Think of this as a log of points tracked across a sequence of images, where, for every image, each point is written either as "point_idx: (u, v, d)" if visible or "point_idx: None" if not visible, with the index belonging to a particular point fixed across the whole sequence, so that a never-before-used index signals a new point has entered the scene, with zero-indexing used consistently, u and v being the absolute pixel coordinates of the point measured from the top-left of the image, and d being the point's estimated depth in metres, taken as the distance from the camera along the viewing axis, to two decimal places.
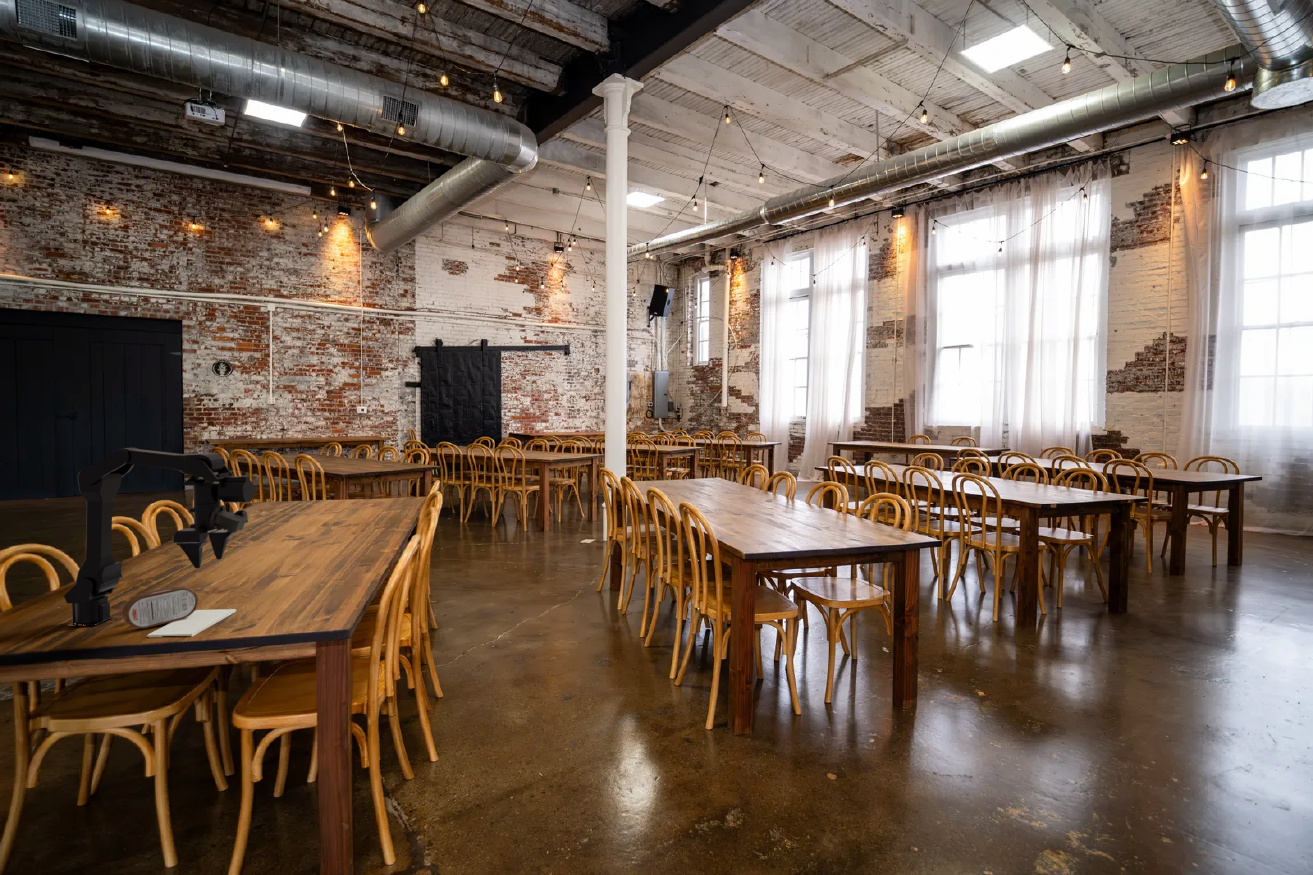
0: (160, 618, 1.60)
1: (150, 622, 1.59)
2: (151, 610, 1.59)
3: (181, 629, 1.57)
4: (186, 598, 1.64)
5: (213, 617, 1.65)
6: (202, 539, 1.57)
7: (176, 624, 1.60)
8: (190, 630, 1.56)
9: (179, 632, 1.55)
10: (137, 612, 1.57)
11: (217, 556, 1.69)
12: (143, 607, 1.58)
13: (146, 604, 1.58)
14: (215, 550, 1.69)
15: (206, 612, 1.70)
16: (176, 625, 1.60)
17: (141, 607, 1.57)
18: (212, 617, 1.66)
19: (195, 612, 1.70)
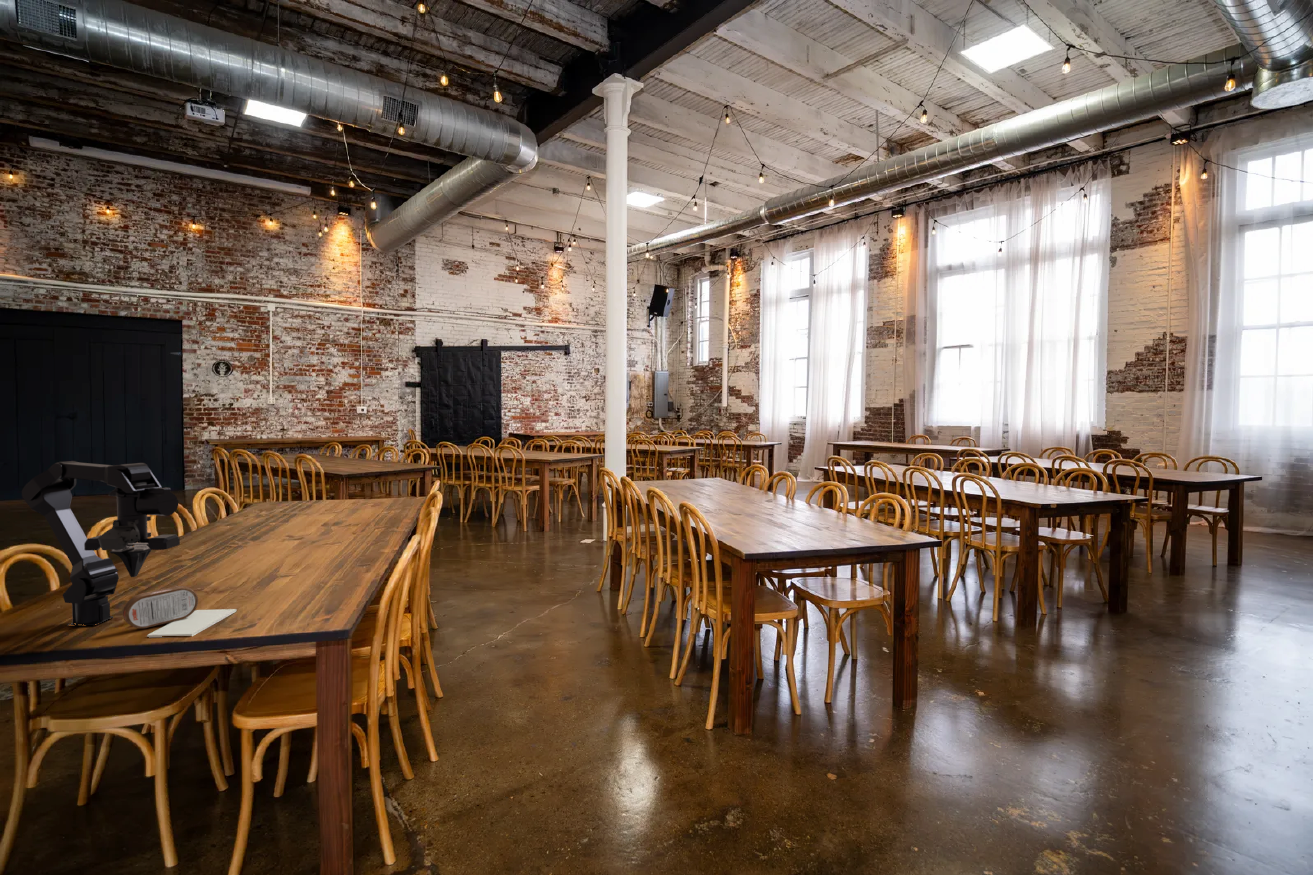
0: (160, 618, 1.60)
1: (150, 622, 1.59)
2: (151, 610, 1.59)
3: (181, 629, 1.57)
4: (186, 598, 1.64)
5: (213, 617, 1.65)
6: (90, 548, 1.56)
7: (176, 624, 1.60)
8: (190, 630, 1.56)
9: (179, 632, 1.55)
10: (137, 612, 1.57)
11: None
12: (143, 607, 1.58)
13: (146, 604, 1.58)
14: None
15: (206, 612, 1.70)
16: (176, 625, 1.60)
17: (141, 607, 1.57)
18: (212, 617, 1.66)
19: (195, 612, 1.70)
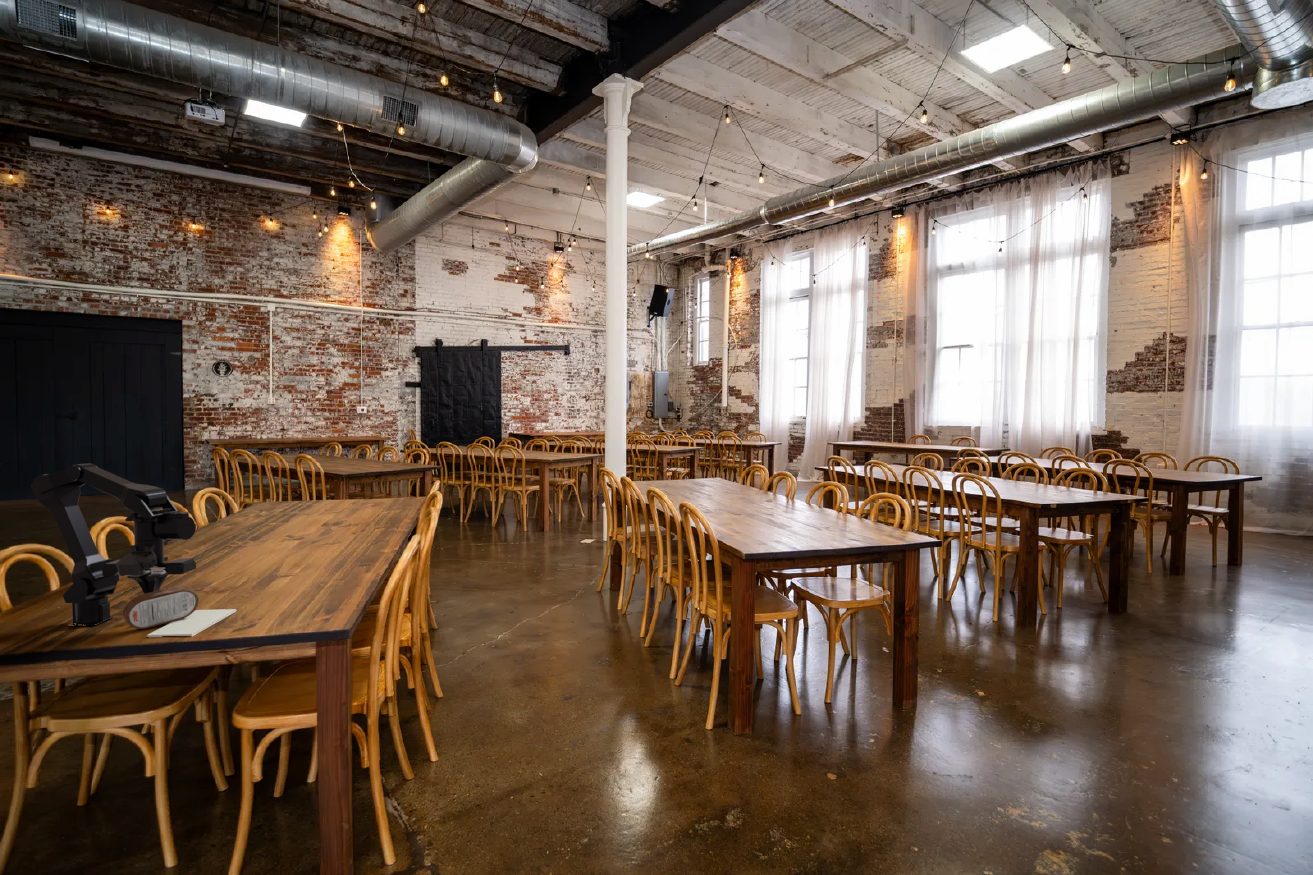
0: (160, 619, 1.60)
1: (150, 622, 1.59)
2: (151, 611, 1.58)
3: (181, 629, 1.57)
4: (187, 599, 1.64)
5: (213, 617, 1.65)
6: (107, 574, 1.57)
7: (176, 624, 1.60)
8: (190, 630, 1.56)
9: (179, 632, 1.55)
10: (137, 614, 1.56)
11: None
12: (144, 609, 1.57)
13: (147, 606, 1.57)
14: None
15: (206, 612, 1.70)
16: (176, 625, 1.60)
17: (142, 609, 1.56)
18: (212, 617, 1.66)
19: (195, 612, 1.70)
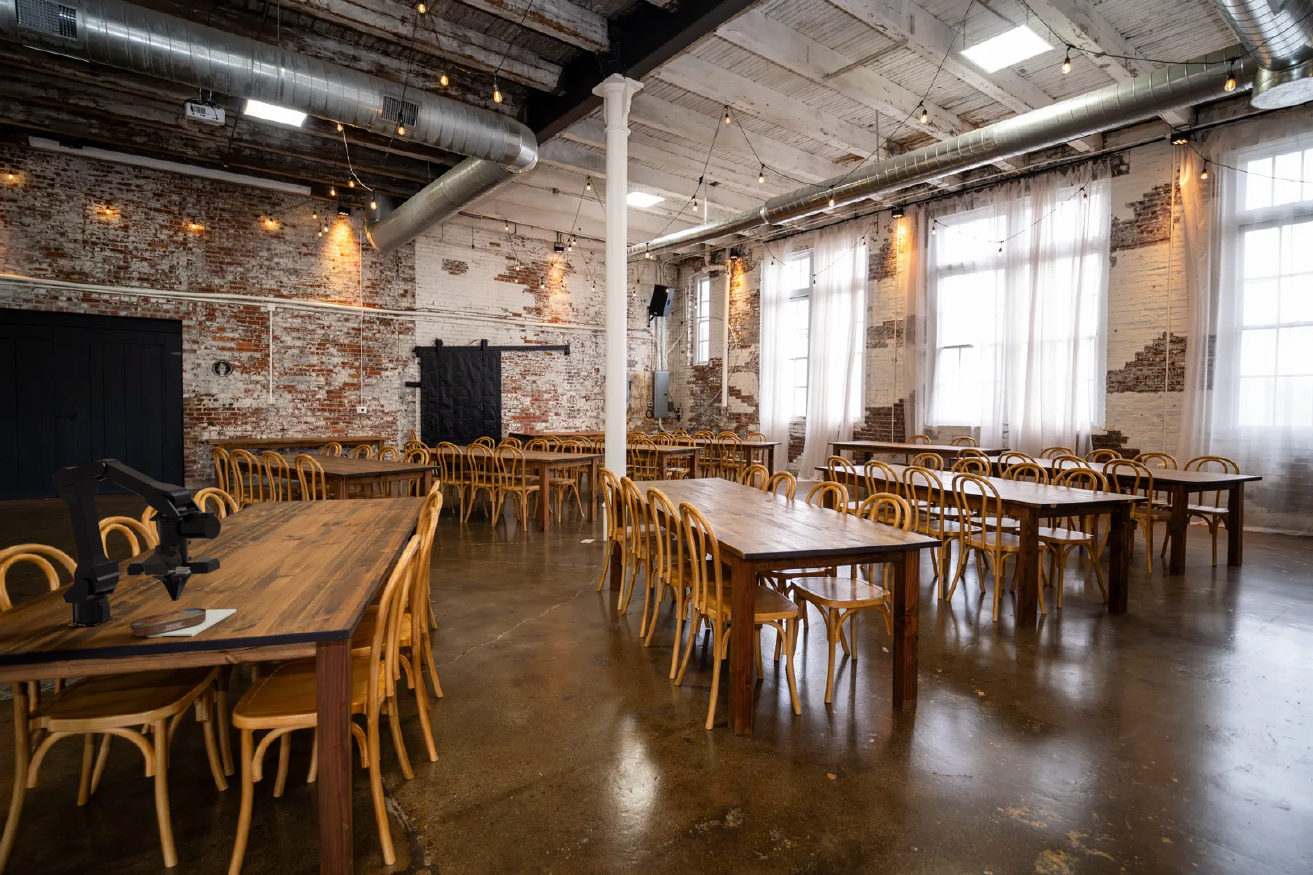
0: None
1: None
2: None
3: (181, 629, 1.57)
4: None
5: (213, 617, 1.65)
6: (132, 573, 1.57)
7: None
8: (190, 630, 1.56)
9: (179, 632, 1.55)
10: None
11: None
12: None
13: None
14: None
15: (206, 612, 1.70)
16: None
17: None
18: (212, 617, 1.66)
19: None
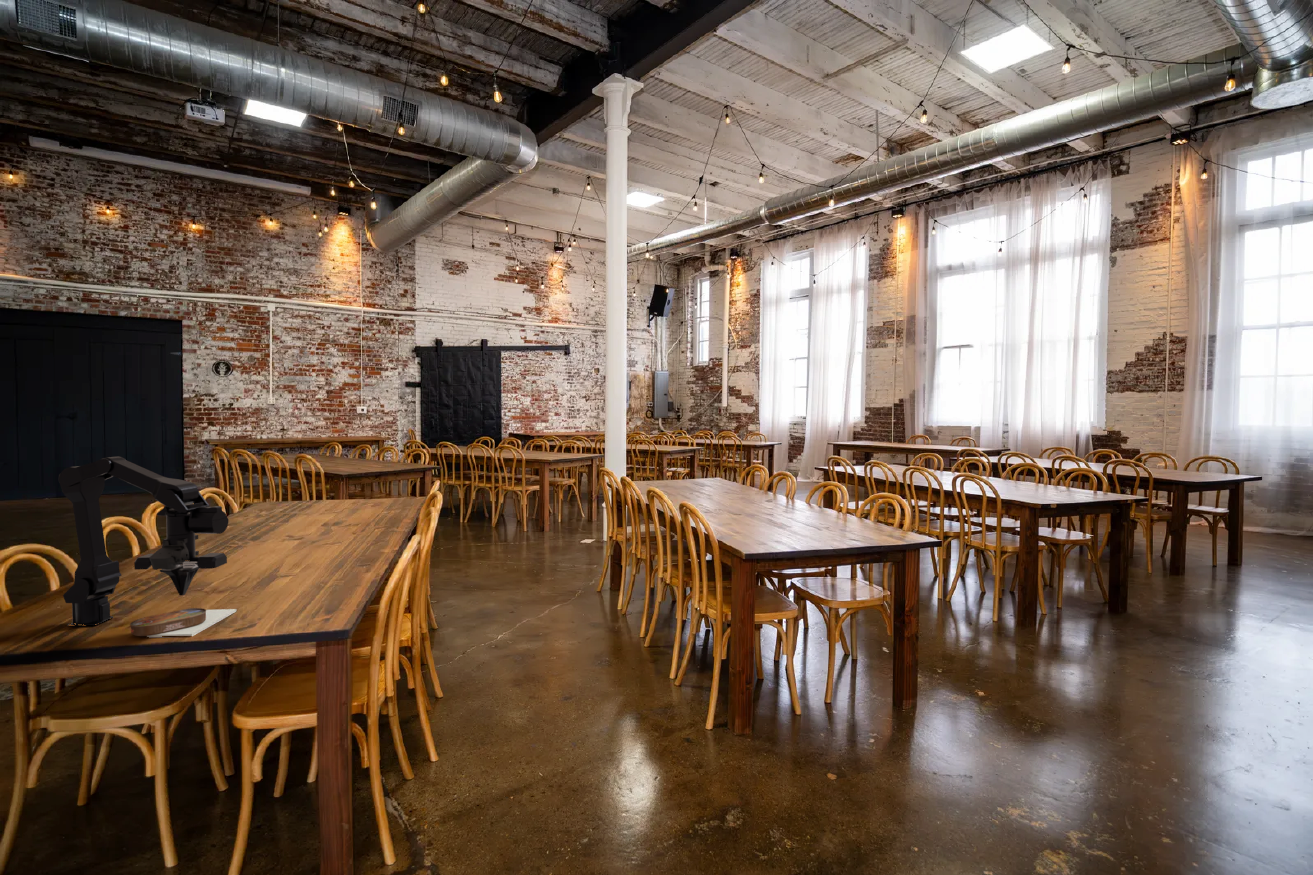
0: None
1: None
2: None
3: (181, 629, 1.57)
4: None
5: (213, 617, 1.65)
6: (140, 567, 1.57)
7: None
8: (190, 630, 1.56)
9: (179, 632, 1.55)
10: None
11: None
12: None
13: None
14: None
15: (206, 612, 1.70)
16: None
17: None
18: (212, 617, 1.66)
19: None
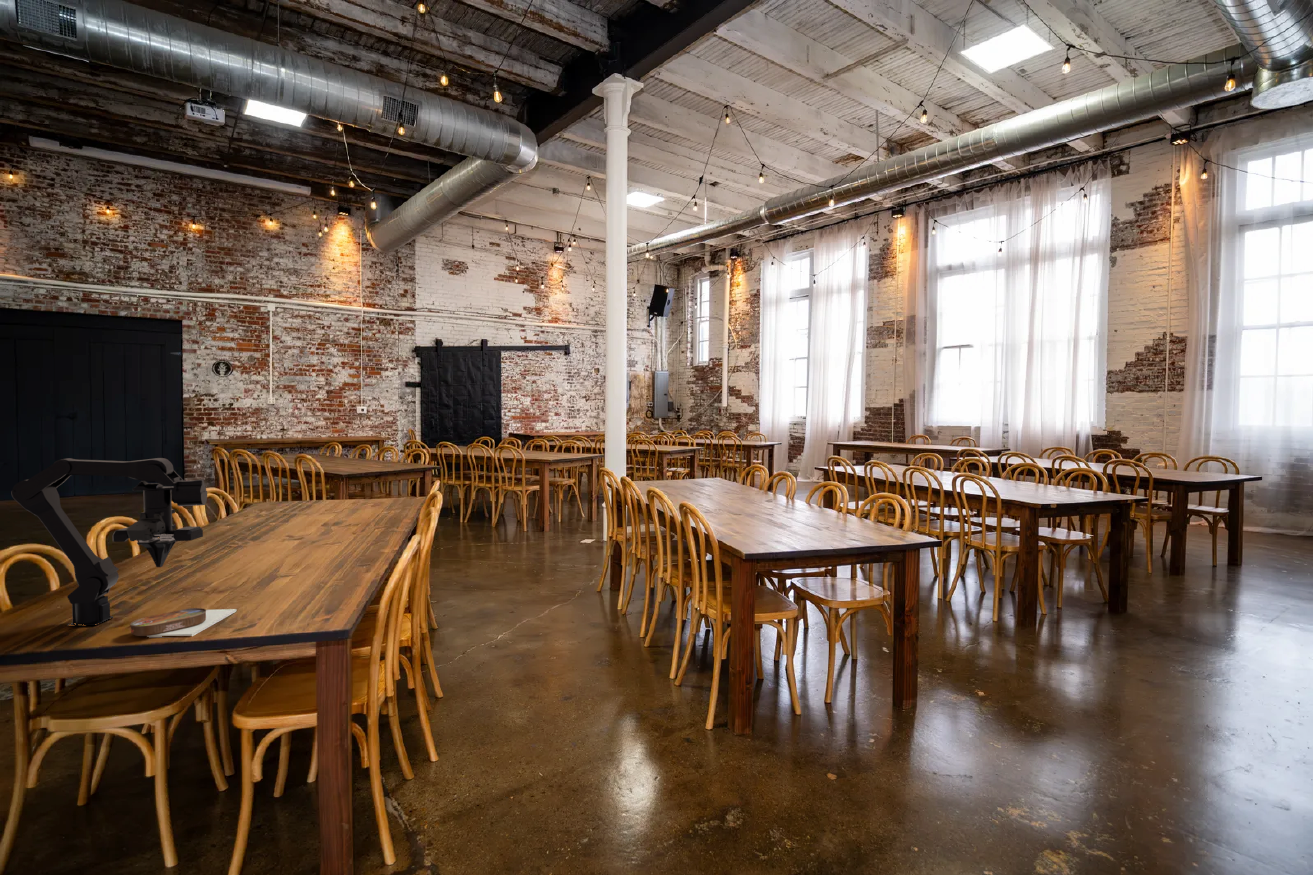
0: None
1: None
2: None
3: (181, 629, 1.57)
4: None
5: (213, 617, 1.65)
6: (118, 540, 1.63)
7: None
8: (190, 630, 1.56)
9: (179, 632, 1.55)
10: None
11: None
12: None
13: None
14: None
15: (206, 612, 1.70)
16: None
17: None
18: (212, 617, 1.66)
19: None
